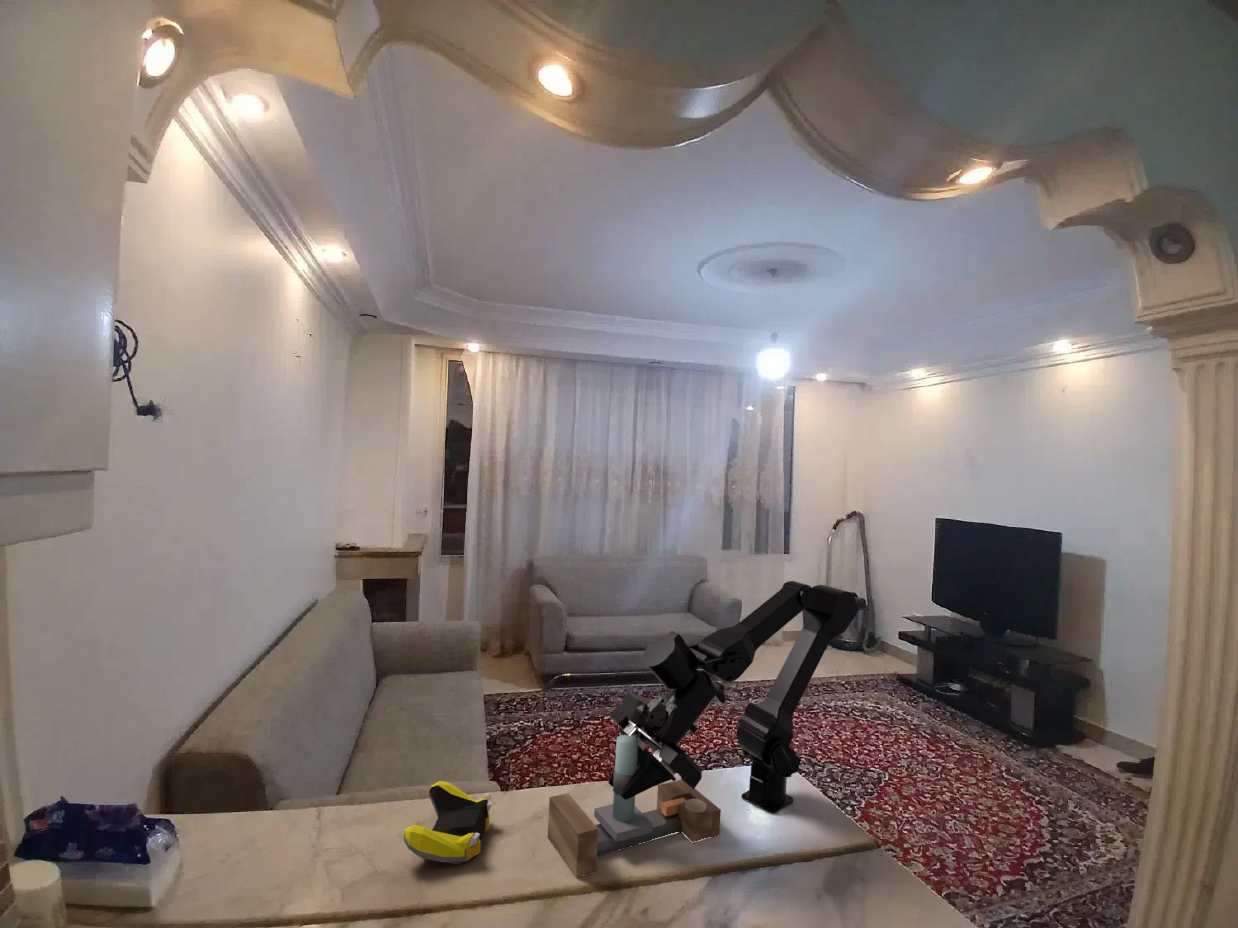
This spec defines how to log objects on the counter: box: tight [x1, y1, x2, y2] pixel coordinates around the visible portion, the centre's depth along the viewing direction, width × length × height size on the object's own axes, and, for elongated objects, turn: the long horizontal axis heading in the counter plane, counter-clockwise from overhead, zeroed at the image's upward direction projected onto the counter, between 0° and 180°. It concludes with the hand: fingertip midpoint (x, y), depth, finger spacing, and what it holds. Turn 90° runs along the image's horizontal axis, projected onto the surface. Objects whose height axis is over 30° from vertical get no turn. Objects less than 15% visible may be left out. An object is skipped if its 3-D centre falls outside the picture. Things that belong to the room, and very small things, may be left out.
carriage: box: [593, 734, 653, 842], centre depth 95 cm, size 6×7×13 cm
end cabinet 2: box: [656, 779, 722, 842], centre depth 101 cm, size 5×10×4 cm, turn 29°
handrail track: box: [595, 808, 682, 857], centre depth 96 cm, size 22×4×2 cm, turn 119°
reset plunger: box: [661, 798, 687, 816], centre depth 100 cm, size 4×1×1 cm, turn 119°
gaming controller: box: [403, 780, 493, 865], centre depth 93 cm, size 15×6×10 cm
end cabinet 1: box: [547, 792, 598, 879], centre depth 91 cm, size 3×10×6 cm, turn 29°
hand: (616, 791), depth 95 cm, fingers closed on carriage, 3 cm apart
